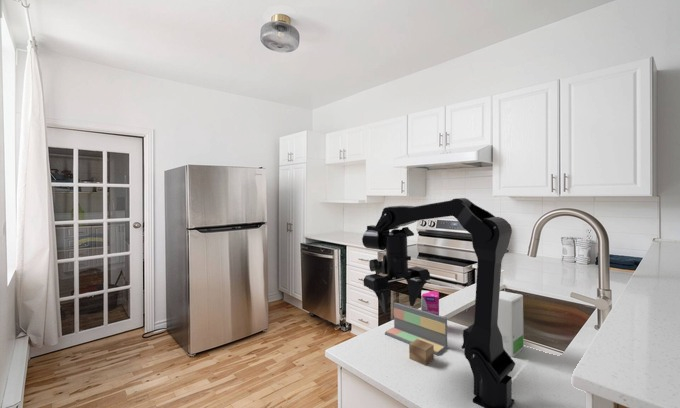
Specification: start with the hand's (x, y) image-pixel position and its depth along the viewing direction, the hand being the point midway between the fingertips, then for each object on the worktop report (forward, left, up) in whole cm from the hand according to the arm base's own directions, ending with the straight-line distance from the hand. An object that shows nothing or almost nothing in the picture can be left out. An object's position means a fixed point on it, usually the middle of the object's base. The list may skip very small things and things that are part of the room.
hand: (398, 309), depth 84 cm
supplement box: (+4, -23, -14) cm, 27 cm away
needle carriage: (-5, -3, -13) cm, 15 cm away
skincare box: (-19, -25, -14) cm, 34 cm away
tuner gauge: (+2, -11, -14) cm, 17 cm away
